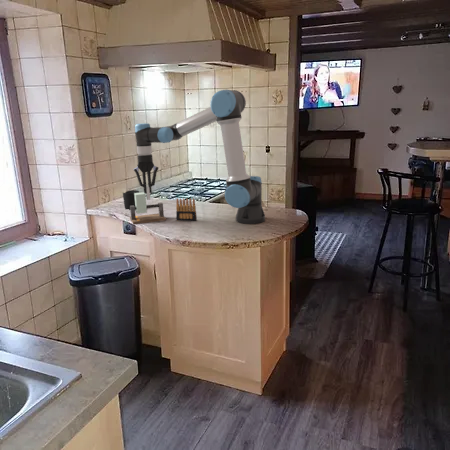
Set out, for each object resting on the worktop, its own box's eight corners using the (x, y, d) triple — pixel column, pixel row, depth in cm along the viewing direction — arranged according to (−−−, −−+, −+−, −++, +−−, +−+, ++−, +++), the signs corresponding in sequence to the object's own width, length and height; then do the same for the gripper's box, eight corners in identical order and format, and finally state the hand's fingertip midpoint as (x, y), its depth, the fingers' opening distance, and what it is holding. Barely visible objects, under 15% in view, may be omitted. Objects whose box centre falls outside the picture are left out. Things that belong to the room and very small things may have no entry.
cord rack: (165, 220, 228) (164, 205, 225) (133, 224, 222) (132, 208, 220) (161, 215, 239) (159, 200, 236) (130, 218, 233) (128, 204, 231)
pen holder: (142, 208, 255) (140, 192, 253) (126, 210, 251) (124, 194, 248) (137, 205, 263) (136, 189, 261) (122, 207, 259) (120, 191, 257)
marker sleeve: (146, 212, 227) (145, 193, 224) (137, 213, 225) (135, 194, 222) (145, 210, 231) (143, 192, 228) (135, 211, 230) (134, 193, 227)
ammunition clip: (176, 220, 227) (175, 198, 224) (177, 219, 228) (176, 197, 225) (195, 221, 224) (194, 198, 221) (196, 220, 226) (195, 197, 223)
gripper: (155, 152, 227) (159, 196, 233) (130, 154, 223) (134, 199, 229) (158, 154, 220) (162, 199, 227) (133, 155, 216) (137, 201, 222)
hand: (148, 199), depth 228 cm, fingers closed
